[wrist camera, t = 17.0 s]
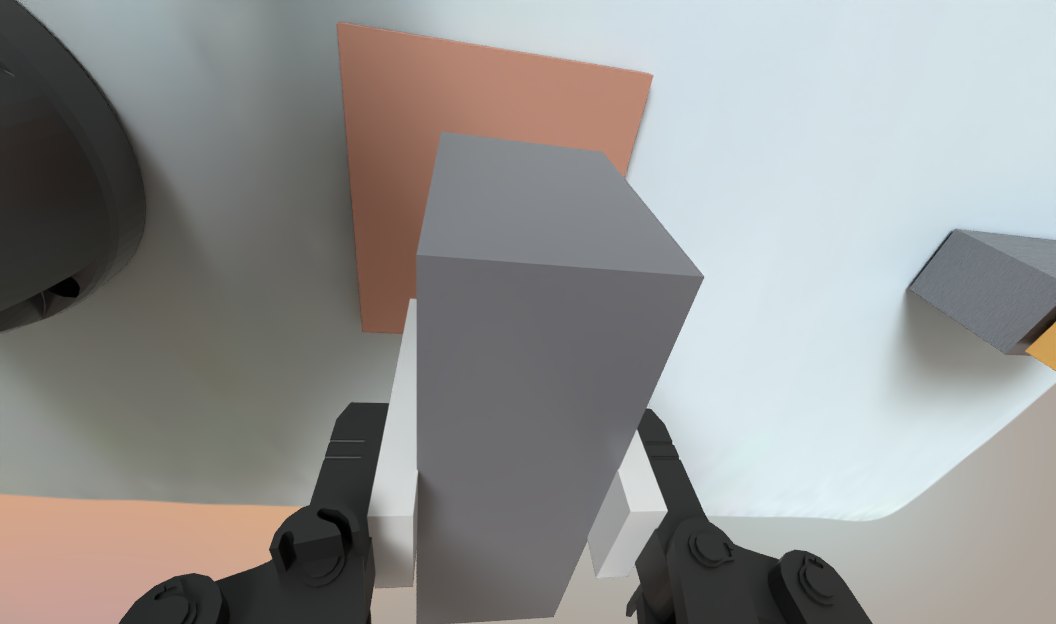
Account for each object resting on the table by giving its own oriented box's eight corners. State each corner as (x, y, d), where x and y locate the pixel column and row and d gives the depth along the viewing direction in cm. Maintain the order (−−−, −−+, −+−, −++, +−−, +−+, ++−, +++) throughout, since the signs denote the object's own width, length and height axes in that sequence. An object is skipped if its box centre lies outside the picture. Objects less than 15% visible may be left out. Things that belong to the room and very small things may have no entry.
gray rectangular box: (908, 288, 27) (1005, 354, 22) (955, 228, 24) (1074, 287, 20) (1036, 299, 29) (1151, 362, 24) (1091, 244, 26) (1230, 301, 21)
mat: (364, 324, 24) (362, 331, 24) (340, 21, 16) (336, 22, 15) (575, 335, 26) (577, 342, 26) (648, 73, 18) (653, 75, 18)
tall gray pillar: (431, 448, 17) (416, 626, 12) (440, 131, 10) (416, 254, 6) (531, 449, 18) (553, 617, 13) (602, 151, 11) (704, 276, 6)
